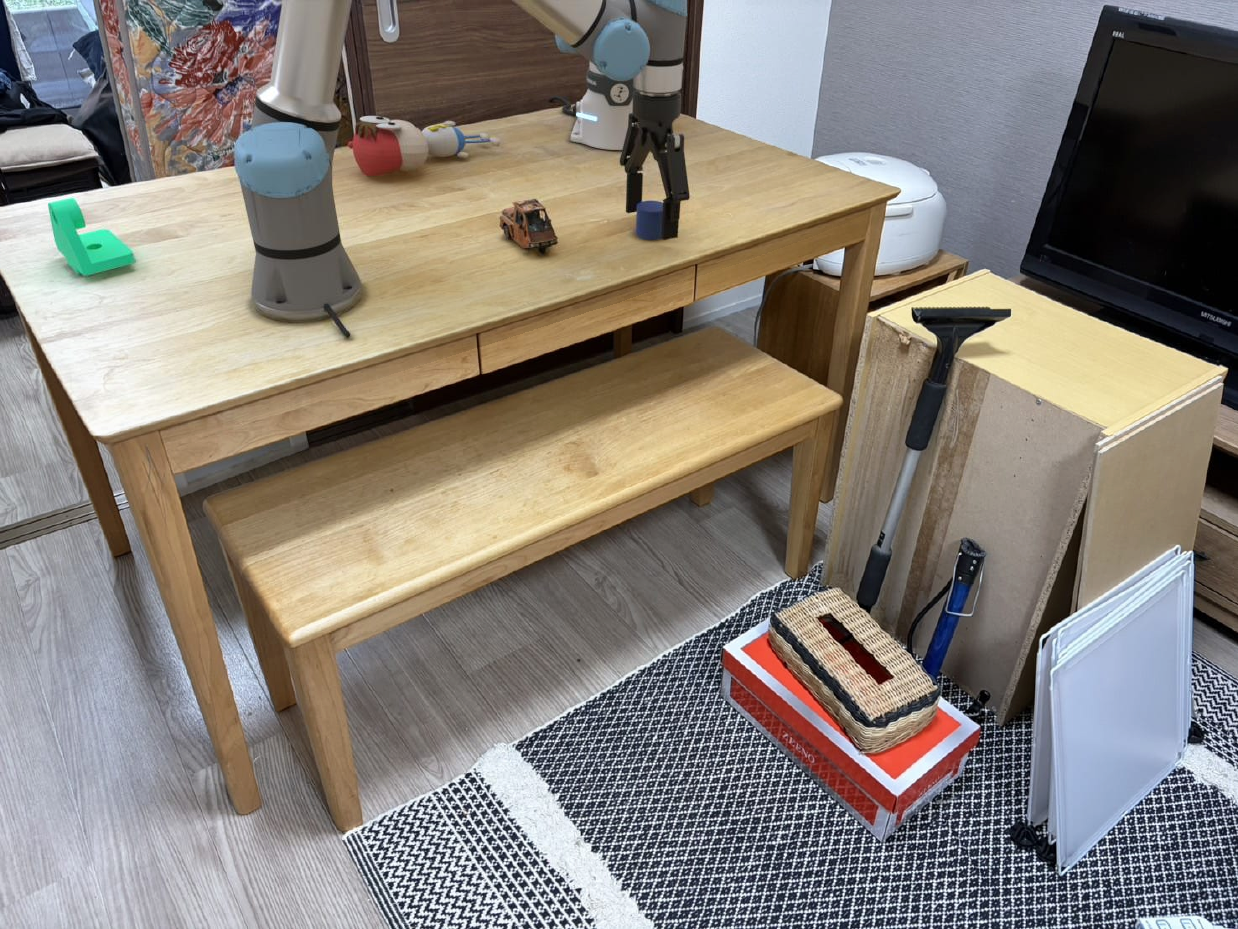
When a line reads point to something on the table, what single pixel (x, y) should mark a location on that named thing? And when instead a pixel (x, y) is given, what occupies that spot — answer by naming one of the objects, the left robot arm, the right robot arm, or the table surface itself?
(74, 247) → the camera mount
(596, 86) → the right robot arm
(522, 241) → the toy car
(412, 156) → the toy
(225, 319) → the table surface
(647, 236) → the canister
